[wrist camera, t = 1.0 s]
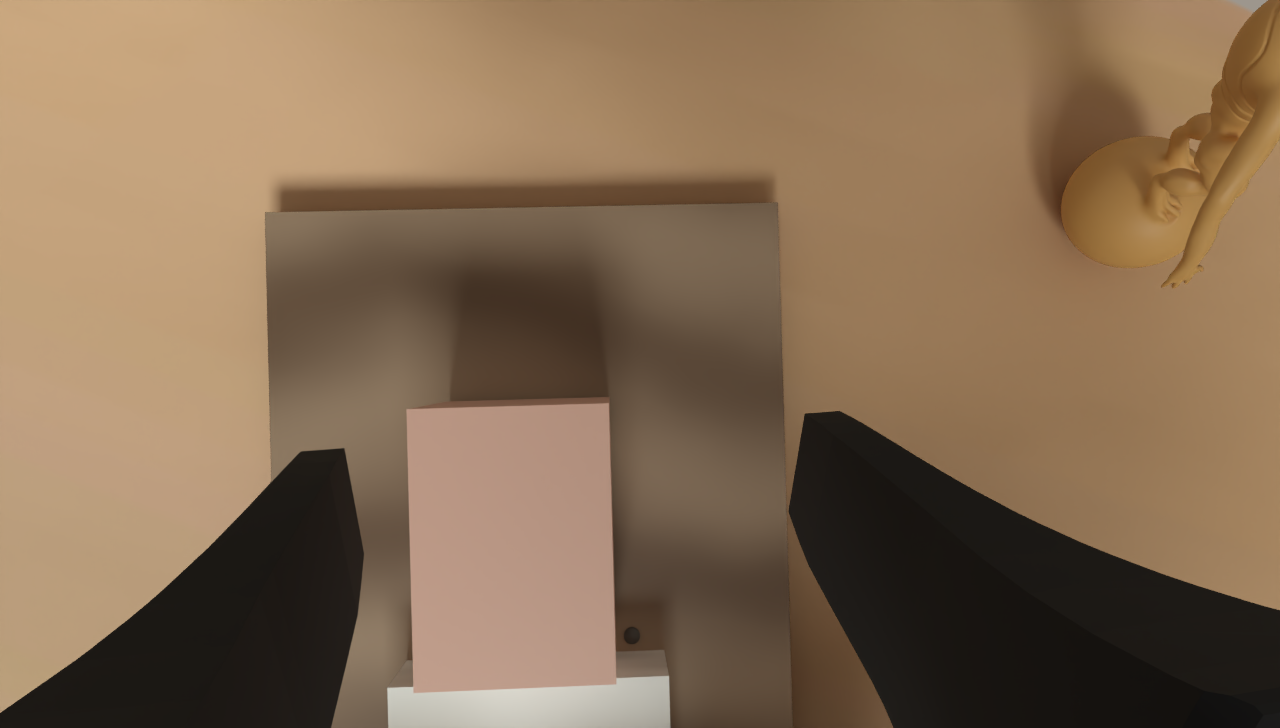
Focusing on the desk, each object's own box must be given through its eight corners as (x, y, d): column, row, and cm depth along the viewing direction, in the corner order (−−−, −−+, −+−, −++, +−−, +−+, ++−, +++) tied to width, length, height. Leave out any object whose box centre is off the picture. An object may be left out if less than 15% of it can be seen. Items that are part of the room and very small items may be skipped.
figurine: (1096, 353, 25) (1540, 337, 13) (935, 278, 25) (1236, 191, 13) (1194, 130, 25) (1722, -88, 13) (1036, 54, 25) (1426, -237, 13)
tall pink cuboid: (615, 623, 23) (616, 684, 19) (452, 629, 23) (413, 692, 18) (609, 396, 23) (608, 403, 19) (446, 401, 23) (406, 409, 18)
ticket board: (790, 877, 24) (814, 947, 21) (295, 903, 24) (250, 979, 21) (771, 209, 25) (792, 187, 22) (279, 218, 24) (231, 197, 21)
